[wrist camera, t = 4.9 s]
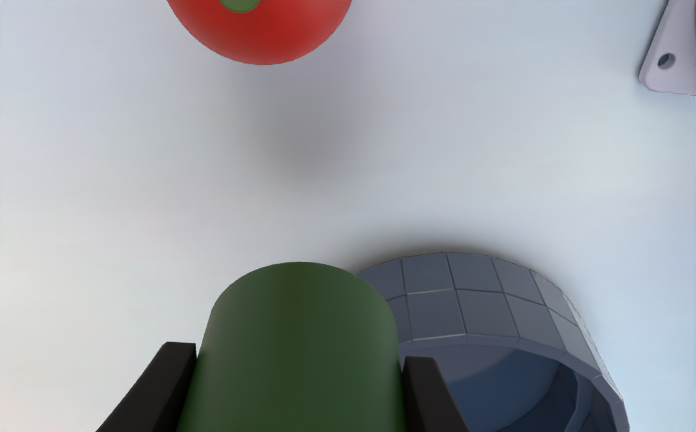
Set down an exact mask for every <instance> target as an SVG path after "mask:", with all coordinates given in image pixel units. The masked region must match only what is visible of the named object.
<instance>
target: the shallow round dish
mask: <svg viewBox="0 0 696 432" xmlns="http://www.w3.org/2000/svg"><path fill="white" fill-rule="evenodd" d="M355 275H356V276H358V277H360V278H361V279H363V280H364V281H366V282H367V283H369V284H370V285H371V286H372V287H374V288H375V289H376V290H377V291H378V292H379V293H380V294H381V296H382V297H383V298H384V299H385V300H386V302H387V303H388V305H389V306H390V308H391V310H392V312H393V315H394V317H395V320H396V325H397V332H398V341H399V350H400V359H401V368H402V371H403V366H404V361H405V356H417V357H433V358H434V359H435V360H436V361H437V364H438V366H439V368H440V371H441V373H442V375H443V377H444V380H445V382H446V384H447V386H448V388H449V390H450V392H451V394H452V396H453V398H454V400H455V402H456V404H457V406H458V408H459V410H460V412H461V414H462V416H463V418H464V419H465V421H466V423H467V425H468V427H469V428H470V430H471V432H629V431H630V426H629V422H628V418H627V414H626V410H625V406H624V402H623V399H622V397H621V395H620V393H619V391H618V389H617V387H616V385H615V383H614V381H613V379H612V377H611V376H610V374H609V372H608V370H607V368H606V366H605V364H604V362H603V360H602V358H601V356H600V354H599V352H598V350H597V348H596V346H595V344H594V342H593V341H592V339H591V337H590V335H589V333H588V331H587V329H586V327H585V325H584V323H583V321H582V319H581V317H580V315H579V313H578V312H577V311H576V309H575V308H574V307H573V306H572V304H571V303H570V302H569V300H568V299H567V298H566V296H565V295H564V294H563V293H562V291H561V290H560V289H559V288H558V287H556V286H555V285H553V284H552V283H550V282H549V281H547V280H546V279H544V278H543V277H541V276H540V275H538V274H537V273H535V272H534V271H532V270H531V269H527V268H525V267H522V266H519V265H516V264H513V263H510V262H507V261H503V260H500V259H497V258H494V257H490V256H486V255H475V254H464V253H453V252H446V253H444V252H442V253H434V254H426V255H418V256H409V257H402V258H401V259H400V258H397V259H394V260H392V261H389V262H386V263H383V264H380V265H377V266H374V267H371V268H368V269H365V270H362V271H360V272H359V273H356V274H355Z"/></svg>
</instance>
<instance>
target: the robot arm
mask: <svg viewBox="0 0 696 432" xmlns="http://www.w3.org/2000/svg"><path fill="white" fill-rule="evenodd" d="M667 53H669V58H668V60H667V61H666V63H664V64H663V65H660V66H658V60H659V59H660V57H661V56H663V55H664V54H667ZM639 80H640V83H641V84H642V85H643V86H644V87H645V88H647V89H648V90H651V91H657V92H666V93H675V94H684V95H693V96H696V0H669V2H668V5H667V7H666V9H665V12H664V14H663V17H662V19H661V22H660V24H659V27H658V29H657V31H656V34H655V36H654V39H653V41H652V44H651V46H650V49H649V51H648V54H647V56H646V58H645V61H644V63H643V66H642V68H641V71H640V75H639ZM196 361H197V356H196V344H195V343H181V342H166V343H165V344H163V345H162V347H161V348H160V350H159V351H158V352H157V354H156V355H155V357H154V358H153V360H152V361H151V362H150V364H149V365H148V367H147V368H146V369H145V371H144V372H143V373H142V375H141V376H140V377H139V379H138V380H137V381H136V383H135V384H134V385H133V387H132V388H131V389H130V391H129V392H128V393H127V394H126V396H125V397H124V398H123V399H122V401H121V402H120V403H119V404H118V405H117V407H116V408H115V409H114V410H113V412H112V413H111V414H110V415H109V416H108V418H107V419H106V420H105V421H104V423H103V424H102V425H101V426H100V427H99V428H98V430H97V431H96V432H176V428H177V425H178V422H179V418H180V415H181V412H182V408H183V405H184V401H185V398H186V395H187V391H188V388H189V385H190V381H191V378H192V375H193V371H194V368H195V364H196ZM402 377H403V386H404V396H405V405H406V414H407V423H408V432H471V430H470V428H469V427H468V425H467V423H466V421H465V419H464V418H463V416H462V414H461V412H460V410H459V408H458V406H457V404H456V402H455V400H454V398H453V396H452V394H451V392H450V390H449V388H448V386H447V384H446V382H445V380H444V377H443V375H442V373H441V371H440V368H439V366H438V364H437V361H436V360H435V359H434V358H433V357H417V356H405V361H404V366H403V371H402Z"/></svg>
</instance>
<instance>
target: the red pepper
mask: <svg viewBox="0 0 696 432" xmlns="http://www.w3.org/2000/svg"><path fill="white" fill-rule="evenodd" d="M167 1H168V3H169V5H170V7H171V9H172V10H173V12H174V14H175V15H176V17H177V18H178V19H179V21H180V22H181V23H182V25H183V26H184V27H185V28H186V29H187V30H188V31H189V32H190V34H191V35H193V36H194V37H195V38H196V39H197V40H198V41H199V42H201V43H202V44H203V45H205V46H206V47H208V48H209V49H211V50H212V51H214V52H216V53H218V54H220V55H222V56H224V57H227V58H229V59H232V60H235V61H239V62H242V63H248V64H255V65H272V64H280V63H285V62H288V61H292V60H295V59H297V58H300V57H302V56H304V55H306V54H308V53H309V52H311V51H313V50H314V49H316V48H317V47H318V46H319V45H321V44H322V43H323V42H324V41H326V40H327V39H328V38H329V36H330V35H331V34H332V33H333V32H334V31H335V30H336V28H337V27H338V26H339V24H340V23H341V22H342V20H343V18H344V16H345V14H346V13H347V11H348V8H349V6H350V3H351V1H352V0H167Z"/></svg>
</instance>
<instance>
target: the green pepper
mask: <svg viewBox="0 0 696 432" xmlns="http://www.w3.org/2000/svg"><path fill="white" fill-rule="evenodd" d="M176 432H408V423H407V414H406V405H405V396H404V386H403V377H402V368H401V359H400V350H399V341H398V332H397V325H396V320H395V317H394V315H393V312H392V310H391V308H390V306H389V305H388V303H387V302H386V300H385V299H384V298H383V297H382V296H381V294H380V293H379V292H378V291H377V290H376V289H375V288H374V287H372V286H371V285H370V284H369V283H367V282H366V281H364V280H363V279H361V278H360V277H358V276H356V275H354V274H352V273H350V272H348V271H345V270H342V269H340V268H337V267H333V266H329V265H325V264H319V263H313V262H286V263H280V264H273V265H270V266H266V267H262V268H259V269H257V270H254V271H252V272H250V273H248V274H246V275H244V276H242V277H241V278H239V279H238V280H236V281H235V282H234V283H232V284H231V285H230V286H229V287H228V288H227V289H226V290H225V291H224V292H223V293H222V294H221V295H220V296H219V298H218V299H217V301H216V302H215V304H214V306H213V308H212V310H211V314H210V317H209V321H208V324H207V327H206V331H205V334H204V337H203V341H202V344H201V348H200V351H199V354H198V358H197V361H196V364H195V368H194V371H193V375H192V378H191V381H190V385H189V388H188V391H187V395H186V398H185V401H184V405H183V408H182V412H181V415H180V418H179V422H178V425H177V428H176Z"/></svg>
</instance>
